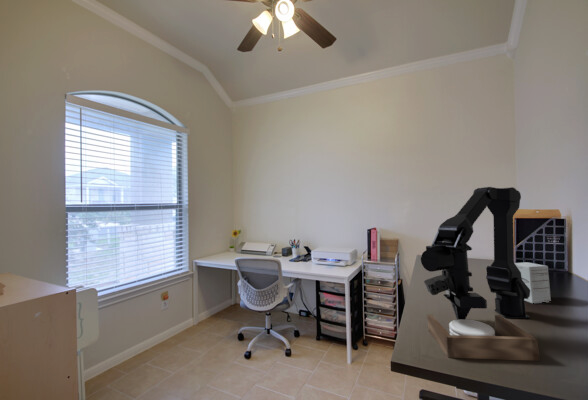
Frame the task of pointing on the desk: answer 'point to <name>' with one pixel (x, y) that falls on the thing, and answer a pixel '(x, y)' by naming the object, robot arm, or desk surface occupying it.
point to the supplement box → (535, 281)
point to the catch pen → (487, 342)
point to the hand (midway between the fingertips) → (460, 323)
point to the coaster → (470, 328)
